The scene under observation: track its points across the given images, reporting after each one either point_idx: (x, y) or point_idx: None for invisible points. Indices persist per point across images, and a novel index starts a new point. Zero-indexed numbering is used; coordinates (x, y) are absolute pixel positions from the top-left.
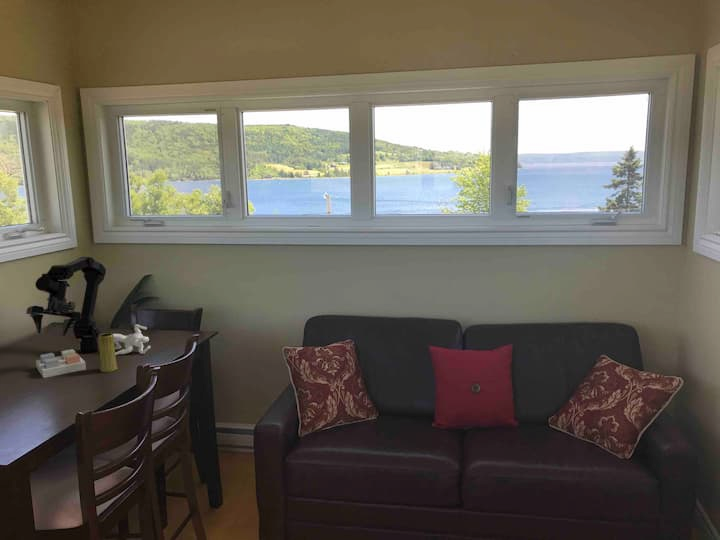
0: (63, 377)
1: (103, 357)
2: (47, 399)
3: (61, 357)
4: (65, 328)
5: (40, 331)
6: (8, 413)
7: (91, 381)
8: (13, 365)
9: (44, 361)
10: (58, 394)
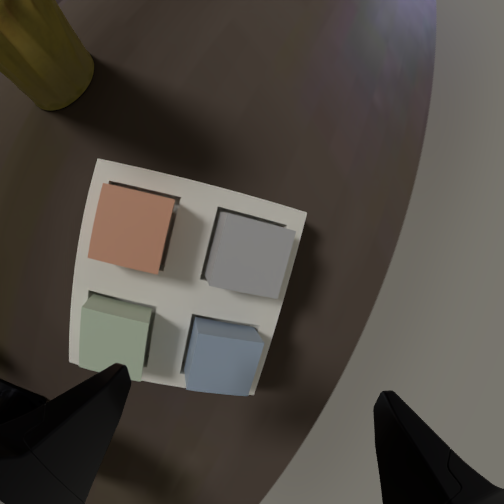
0: (233, 137)
1: (70, 28)
2: (360, 11)
3: (144, 365)
4: (79, 415)
5: (388, 402)
6: (433, 37)
7: (193, 7)
8: (281, 448)
9: (282, 273)
10: (327, 8)
